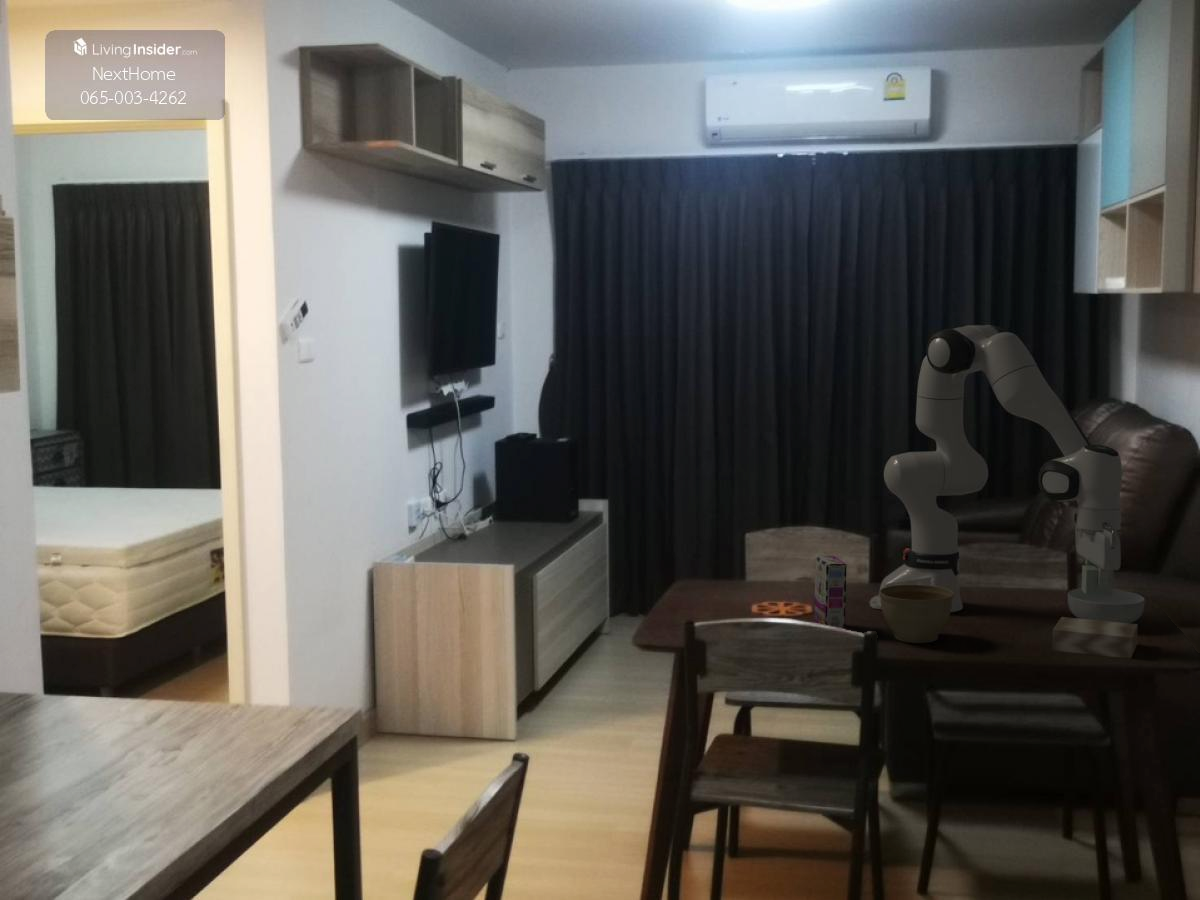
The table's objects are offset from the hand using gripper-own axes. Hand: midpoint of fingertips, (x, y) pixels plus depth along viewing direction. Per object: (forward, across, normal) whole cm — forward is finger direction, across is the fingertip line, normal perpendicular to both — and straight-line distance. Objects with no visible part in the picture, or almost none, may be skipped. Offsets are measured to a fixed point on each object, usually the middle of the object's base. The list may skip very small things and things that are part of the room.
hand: (1097, 583), depth 292 cm
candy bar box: (+14, +15, +56) cm, 60 cm away
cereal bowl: (+14, +22, -9) cm, 27 cm away
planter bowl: (+14, +7, +38) cm, 41 cm away
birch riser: (+15, 0, 0) cm, 15 cm away
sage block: (+2, 0, 0) cm, 2 cm away
